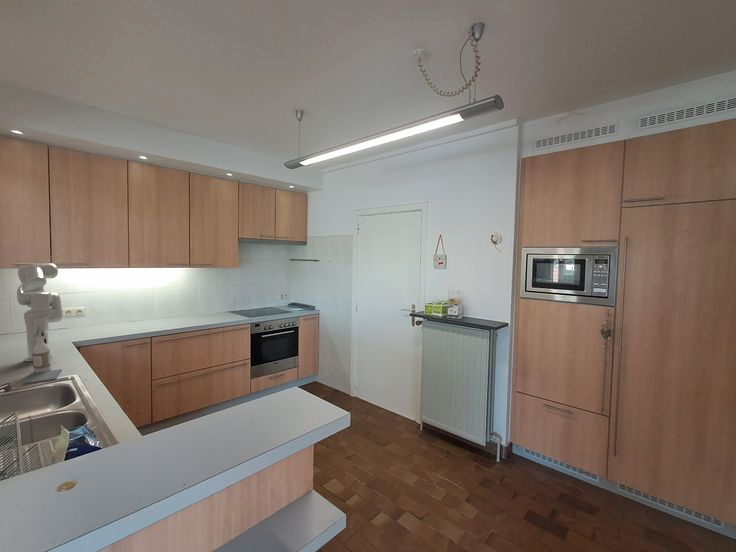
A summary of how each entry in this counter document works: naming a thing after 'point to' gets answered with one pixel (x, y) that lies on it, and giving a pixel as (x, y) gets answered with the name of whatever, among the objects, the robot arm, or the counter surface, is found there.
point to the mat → (41, 376)
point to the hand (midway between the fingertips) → (42, 346)
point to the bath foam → (41, 356)
